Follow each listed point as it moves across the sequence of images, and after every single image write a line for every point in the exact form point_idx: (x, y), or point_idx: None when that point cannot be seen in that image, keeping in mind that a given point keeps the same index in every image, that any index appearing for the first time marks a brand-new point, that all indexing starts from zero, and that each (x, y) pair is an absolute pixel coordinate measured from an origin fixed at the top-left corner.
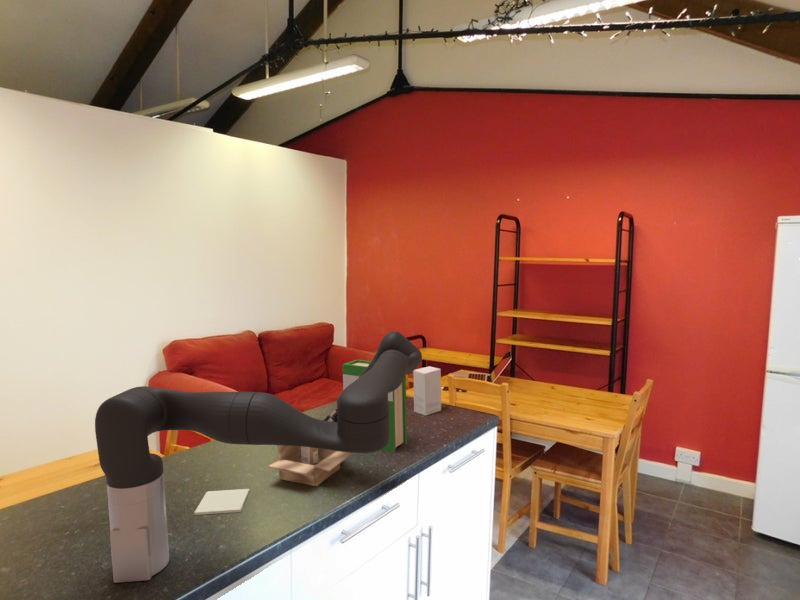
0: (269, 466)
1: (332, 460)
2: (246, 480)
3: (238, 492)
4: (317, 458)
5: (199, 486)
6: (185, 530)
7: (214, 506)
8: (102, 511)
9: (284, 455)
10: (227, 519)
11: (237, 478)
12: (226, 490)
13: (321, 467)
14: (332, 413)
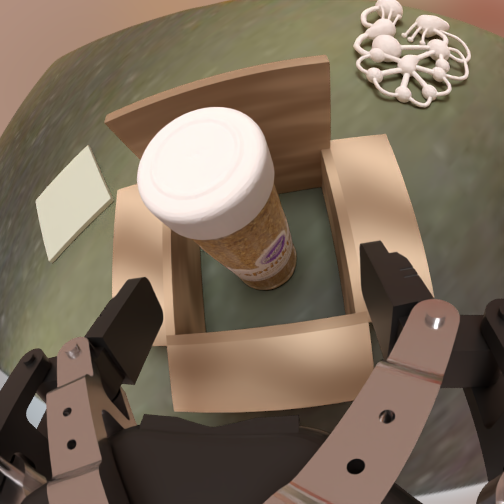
0: (117, 194)
1: (251, 373)
2: None
3: (93, 194)
4: (263, 276)
5: (111, 112)
6: (14, 233)
7: (50, 208)
8: (46, 108)
9: None
10: (36, 263)
11: None
12: (95, 167)
13: (173, 371)
14: (56, 491)
